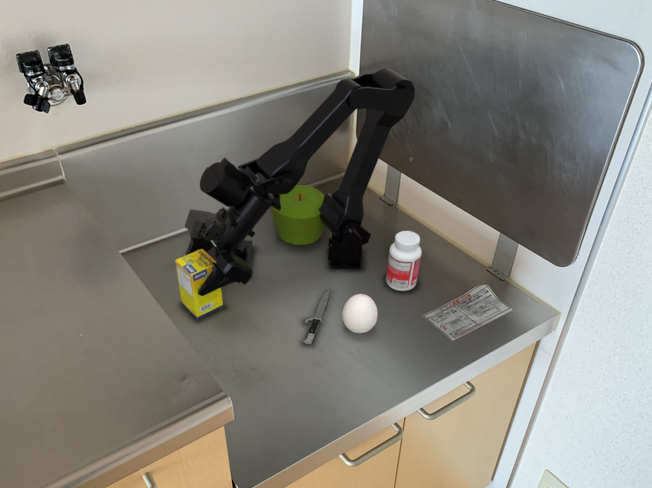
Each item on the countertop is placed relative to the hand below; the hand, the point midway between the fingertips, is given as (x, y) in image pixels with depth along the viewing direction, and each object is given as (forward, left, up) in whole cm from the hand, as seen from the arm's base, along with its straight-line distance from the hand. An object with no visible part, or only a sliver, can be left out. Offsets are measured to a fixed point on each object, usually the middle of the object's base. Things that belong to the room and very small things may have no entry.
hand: (191, 281), depth 113 cm
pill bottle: (-40, -10, -7) cm, 42 cm away
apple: (-19, -25, -7) cm, 32 cm away
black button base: (-3, -15, -7) cm, 17 cm away
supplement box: (-1, -1, -7) cm, 7 cm away
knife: (-23, +1, -7) cm, 24 cm away
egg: (-31, +4, -7) cm, 32 cm away
